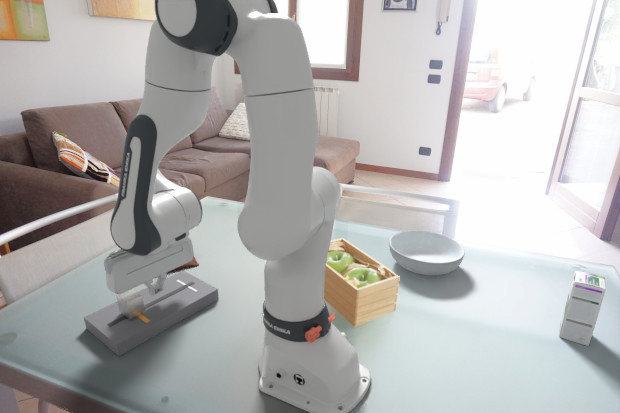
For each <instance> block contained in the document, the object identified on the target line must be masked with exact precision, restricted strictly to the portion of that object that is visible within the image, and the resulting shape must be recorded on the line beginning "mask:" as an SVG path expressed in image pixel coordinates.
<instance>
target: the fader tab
mask: <svg viewBox="0 0 620 413" xmlns="http://www.w3.org/2000/svg"><path fill="white" fill-rule="evenodd" d="M116 300H117V301H116V302H118V307H119V312H120V313H122V314H123V315H125V316H126V317H127V318H129V319H132V318H134V317H136V316H138V315H140V314H142V313H143V312H145V308H144V302H143V296H142V294H140V293H139V291H137V290H135V289H134V288H133V289H131V290H128V291H126V292H124V293H122V294H120V295H118V294H116Z"/></svg>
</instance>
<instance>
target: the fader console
mask: <svg viewBox="0 0 620 413" xmlns="http://www.w3.org/2000/svg"><path fill="white" fill-rule="evenodd" d="M163 285H164V290H163V291H160V292H158V293H157V294H155V295H151V294H150V293H149V291H148V287H147V286H146V287H145V288H143V289H141V290H138V292H139V293H140V294H142V296H143V302H144V308H145V312H143V313H142V314H140V315H138V316H136V317H134V318H132V319H129V318H127V317H126V316H125V315H123V314H122V313H120V312H119V307H118V302H117V301H116V302H114V303H112V304H109V305H107V306H105V307H103V308H101V309H98V310H96V311H94V312H93V313H90V314H88V315H86V316H84V317H83V320H84V324H85V329H86V330H88V331H89V332H90V333H91V334H92V335H93V336H94V337H95V338H97V339H98V340H99V341H101V343H103V344H104V345H105V346H106V347H107V348H108V349H110V350H111V351H112V352H113V353H115V355H117V357H121V356H122V355H124V354H126V353H128V352H129V351H131V350H132V349H133V350H134V348H136V347H138V346H140V345H141V344H143V343H145V342H148V341H149V340H150V339H152V338H154V337H155V336H157V335H159V334H162V332H165V331H166V330H168V329H169V328H171V327H173V326H174V325H177V324H179V323H180V322H182V321H183V320H185V319H187V318H188V317H190V316H192V315H194V314H196V313H198V312H199V311H201V310H202V309H204V308H206V307H208V306H210V305H212V303H215V302H217V301H218V300H219V298H220V297H219V288H217V287H215V286H213V285H211V284H209V283H207V282H206V281H203V279H202V280H201V279H200V278H198V277H196V276H194V275H192V274H190V273H189V272H187V271H185V270H180V272H179V271H178V272H177V273H175V274H173V275H171V276H169V277H166V280H165V282H164V284H163Z"/></svg>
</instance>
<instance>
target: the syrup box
mask: <svg viewBox="0 0 620 413" xmlns="http://www.w3.org/2000/svg"><path fill="white" fill-rule="evenodd" d="M573 273H574V274H573V277H572V282H571V283H570V288H569V293H568V295H567V300H566V302H565V305H564V306H565V307H564V310H563V312H562V313H563V314H562V318H561V321H560V324H559V325H560V327H559V337H560V338H561V339H564V340H567V341H569V342H570V341H571V342H574V343H577V344H581V345H583V346H586V347H589V345H590V343H591V339H592V336H593V334H594V330H595V328H596V324H597V321H598V318H599V313H600V310H601V306H602V303H603V301H604V296H605V294H606V278H605V277H604V276H600V275H597V274H594V273H590V272H586V271H585V272H584V271H578V270H575V271H574V272H573Z"/></svg>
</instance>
